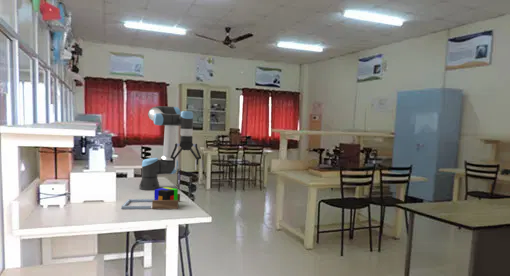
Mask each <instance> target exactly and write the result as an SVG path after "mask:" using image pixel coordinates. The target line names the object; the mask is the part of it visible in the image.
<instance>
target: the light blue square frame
mask: <svg viewBox="0 0 510 276" xmlns="http://www.w3.org/2000/svg"><path fill="white" fill-rule="evenodd" d="M152 200H154V198H151V199H150V198H148V199H147V198H145V199H144V198H139V199H138V198H127V200H126V201H125V202H124V204H122V205H121V210H147V209H152V205H129V204H130V203H152Z"/></svg>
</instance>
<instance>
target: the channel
mask: <svg viewBox="0 0 510 276" xmlns="http://www.w3.org/2000/svg"><path fill="white" fill-rule="evenodd" d="M180 202H181V193H178V200H152V202H151V204H152V205H151V209H152V210H155V209H156V210H158V209H159V210H163V209H166V210H169V209H170V210H172V209H174V210H175V209H177V210H178V208H179V203H180Z"/></svg>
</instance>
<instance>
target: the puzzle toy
mask: <svg viewBox="0 0 510 276" xmlns="http://www.w3.org/2000/svg"><path fill="white" fill-rule="evenodd" d="M178 192H179V190H178V188H173V187H160V188H159V189H155V190H154V197H153V199H154V200H178V194H179V193H178Z"/></svg>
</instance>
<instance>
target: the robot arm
mask: <svg viewBox="0 0 510 276" xmlns="http://www.w3.org/2000/svg"><path fill="white" fill-rule="evenodd" d="M147 115H148V118H149V120H151V121H153V125H155V126H164V134H163V135H164V136H163V149H162V150H163V151H162V156H161V157H160V159H159V158H158V157H150V158H145V159H143V160H142V162H141V179H140V181H139V182H140V183H139V184H138V185H139V186H138V190H142V191H155V189H160V188H161V185H160V182H159V178H158V175H175V174H176V173H177V171H178V167H179V161H178V159H177V158H178V156H179V155H180V153H181V152H182V151H190V152H191V154H192V155H193V157H194V158H195V160H194V171H197V166H198V165H199V160H201V159H202V156H201V152H200V151H199V148H198V144H197V143H193V135H194V129H193V128H194V112H193V111H192V110H191V111H190V110H182V111H181V109H180V108H179V107H178V106H177V107H176V106H164V105H163V106H161V105H158V106H157V105H156V106H153V107H151V108H150V109H149V110H148V112H147ZM177 127H180V134H179V135H180V137H179V139H180V140H179V143H177V142H176V135H177ZM178 147H180V149H179V150H178V151H177V148H178ZM192 147H193V148H195V151H196V153H197V154H196V153H195V151H194V150H193V148H192ZM176 151H177V153H176ZM175 153H176V154H175Z"/></svg>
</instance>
